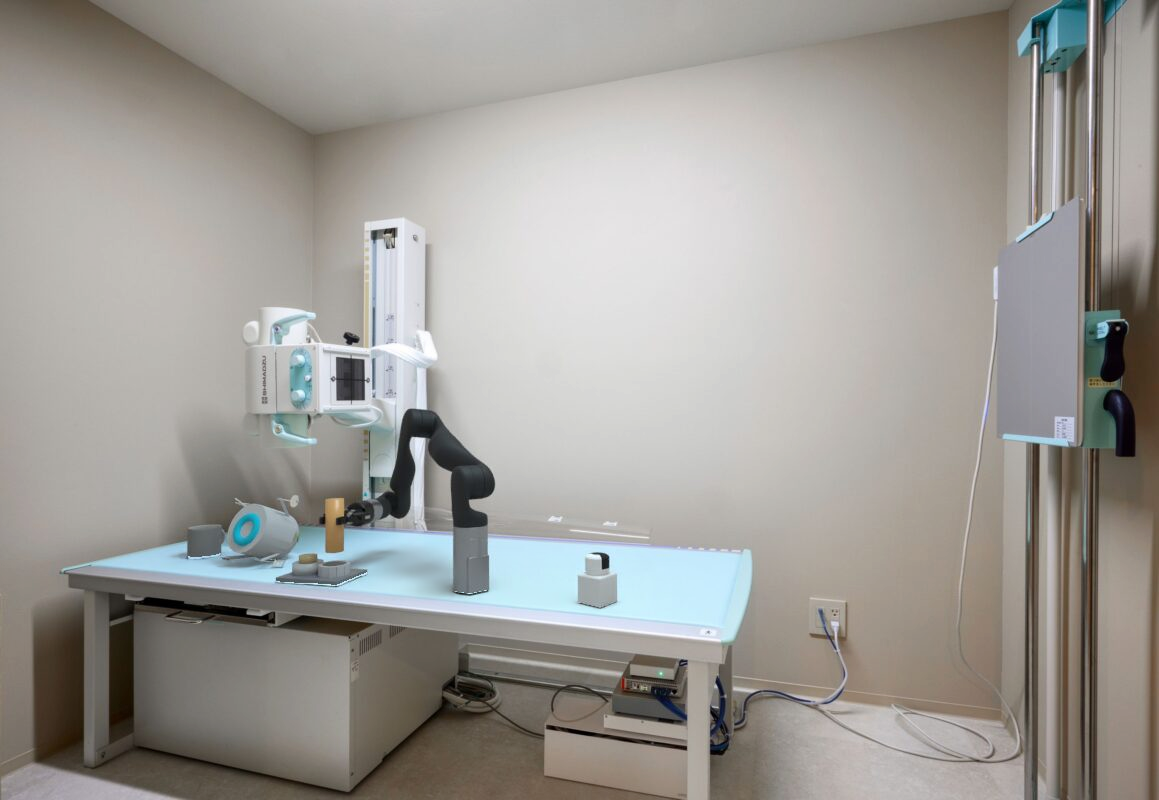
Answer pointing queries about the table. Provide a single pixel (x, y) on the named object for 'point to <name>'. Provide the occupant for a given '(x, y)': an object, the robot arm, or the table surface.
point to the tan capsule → (334, 525)
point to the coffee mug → (204, 540)
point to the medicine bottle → (597, 581)
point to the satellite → (263, 532)
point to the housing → (320, 571)
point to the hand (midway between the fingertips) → (328, 521)
